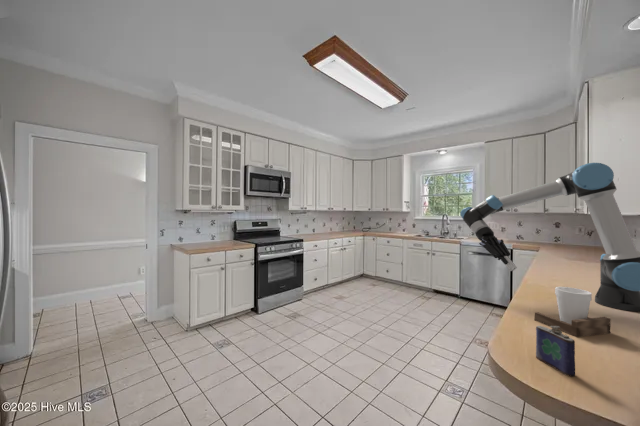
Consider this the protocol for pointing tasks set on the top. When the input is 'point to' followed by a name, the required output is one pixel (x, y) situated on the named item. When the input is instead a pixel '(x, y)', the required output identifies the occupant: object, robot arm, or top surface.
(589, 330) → the corral
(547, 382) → the top surface
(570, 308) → the foam cup
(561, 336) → the flask
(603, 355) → the top surface
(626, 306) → the robot arm
